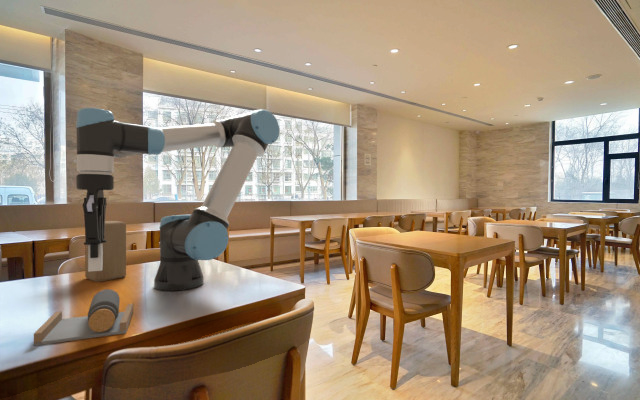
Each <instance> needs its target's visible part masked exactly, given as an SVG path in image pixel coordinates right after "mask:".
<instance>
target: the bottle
mask: <svg viewBox="0 0 640 400" xmlns="http://www.w3.org/2000/svg"><path fill="white" fill-rule="evenodd" d="M120 302H121V301H120V296H119V293H118V292H117V291H115V290H113V289H107V288H106V289H103V290H99V291H97V293H95V294H94V296H93V298H92V300H91V303H90V305H89V308H88V312H87V316H88V323H89V327H90V328H91V329H92V330H93V331H96V332H103V331H106V330H108V329H110V328H111V327H112V326H113V324H114V322H115V320H116V318H117V317H118V313H119V311H120Z"/></svg>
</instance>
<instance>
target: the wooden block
mask: <svg viewBox="0 0 640 400" xmlns="http://www.w3.org/2000/svg"><path fill="white" fill-rule="evenodd" d="M104 236H105V238H104V239H103V240H106V243H103V270H102V271H89V272H88V245H84V260H85V261H84V265H85V266H84V270H85V271H84V277H85V278H86V279H87V280H89V281H93V282H95V283H102V282H105V281H110V280H116V279H117V278H118V279H123V278H125V277H126V276H127V223H126V222H124V221H121V220H120V221H119V220H105V232H104ZM85 240H86V236H85V235H84V242H86V241H85Z"/></svg>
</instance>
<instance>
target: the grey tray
mask: <svg viewBox="0 0 640 400" xmlns="http://www.w3.org/2000/svg"><path fill="white" fill-rule="evenodd" d="M62 313H63V312H62V311H55V312H54V313H53V314H51V316H50V317H49V318H48V319H47V320H46V321H45V322H44V323H43V324H42V325H41V326H40V327H39V328H38V329H37V330H35V332H34V333H33V346H42V345H50V344H56V343H63V342H65V343H66V342H71V341H79V340H85V339H92V338H93V339H94V338H99V337H100V338H101V337H107V336H114V335H123V334H127V332H128V329H129V326H130V324H131V321H132V317H133V315H134V303H128V304H127V306H126V307H125V311H121V312H119V313H118V317H117V318H116V320H115V322H114V324H113V326H112V327H111V328H110V329H108V330H106V331H103V332H96V331H93V330H92V329H91V328H90V327H89V323H88V315H85V316H84V315H83V316H77V317H76V316H75V317H68V318H67V317H66V318H63V317H62V316H63V315H62Z"/></svg>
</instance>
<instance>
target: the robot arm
mask: <svg viewBox="0 0 640 400" xmlns="http://www.w3.org/2000/svg"><path fill="white" fill-rule="evenodd" d="M75 125H76V126H75V129H76V158H75V159H73V162H74V164H76V171H77V172H79V173H77V175H76V176H75V177H76V178H75V179H76V180H75V181H76V185H75V187H76V189H77V190H79V191H80V190H81V191H83V190H85V191H86V196H85V197H84V198H83V203H82V209H83V217H84V237H85V236H86V240H85V239H84V242H83V245H84V246H85V245H88V272H89V271H102V270H103V243H106V240H103V239H104V238H105V236H104V232H105V221H106V210H107V205H108V204H107V198H106V197H105V195H104V191H113V190H114V188H115V187H114V182H115V180H114V179H115V177H114V176H113V173H114V172H115V158H120V159H121V158H127V157H132V156H140V155H148V156H150V155H154V156H155V155H156V156H158V155H160V154H161V153H162V152H163V153H164V152H171V151H180V150H187V149H188V150H189V149H196V148H197V149H198V148H205V147H211V146H212V147H213V146H215V147H216V148H217V149H218V148H219V149H220V148H231V150H230V151H229V153H228V155H227V157H226V159H225V161H224V162H223V164H222V166H221V169H220V171H219V172H218V175H217V176H216V178H215V180H214V182H213V183H212V185H211V188H210V190H209V192H208V194H207V195H206V196H205V199H204V201H203V203H202V205H201V206H200V207H196V208H194V209H193V211H192V213H191V214H177V215H167V216H163V217H162V218H161V219H160V224H159V259H160V260H159V265H158V268H157V271H156V274H155V277H154V280H153V288H154V289H155V290H158V291H166V292H167V291H169V292H170V291H171V292H172V291H173V292H174V291H185V290H190V289H195V288H198V287H200V286H202V285H203V284H204V278H205V277H204V273H203V271H202V268H201V265H200V261H212V260H214V259H216V258H219V256H220V255H222V254H223V253H224V251H225V250H226V249H227V247H228V244H229V235H228V234H229V232H228V229H229V228H230V227H229V226H230V222H229V220H228V217H229V215H230V213H231V211H232V209H233V207H234V205H235V203H236V201H237V199H238V197H239V194H241V193H240V192H241V191H242V188H243V187H244V184H245V182H246V180H247V178H248V176H249V175H250V172H251V170H252V168H253V166H254V165H255V162H256V159H258V157H261V156H263V155H264V153H265V152H266V149H267V148H268V146H269V145H272V144H274V143H275V142H276V141H278V139H279V137H280V131H281V130H280V126H279V122H278V119H277V118H276V116H275V115H274V114H273V113H272V112H271V111H269V110H267V109H255V110H252V111H249V112H246V113H242V114H237V115H235V116H234V115H233V116H231V117H228V118H225V119H219V120H218V119H216V120H212V122H211V123H204V124H193V125H192V124H191V125H179V126H178V125H177V126H176V125H175V126H163V127H155V126H151V125H143V124H137V123H135V124H134V123H129V122H123V121H118V120H115V117H114V113H113V112H112V111H110V110H106V109H103V108H98V107H83V108H81V109H79V110H78V111H77V113H76V124H75ZM85 241H86V242H85Z"/></svg>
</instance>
